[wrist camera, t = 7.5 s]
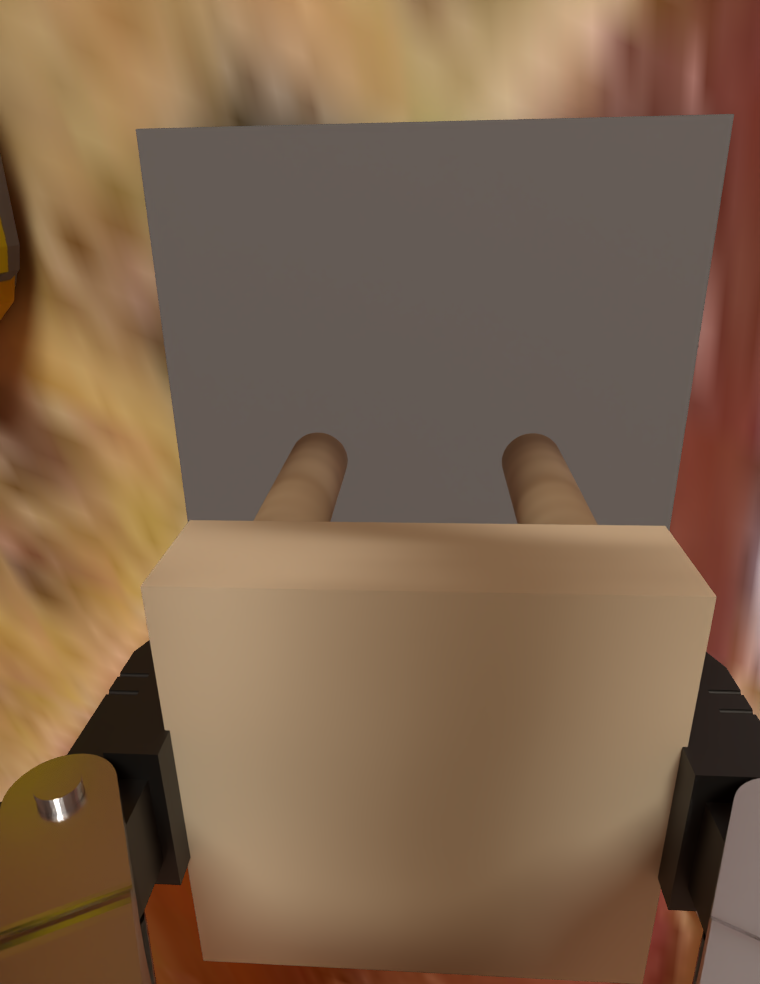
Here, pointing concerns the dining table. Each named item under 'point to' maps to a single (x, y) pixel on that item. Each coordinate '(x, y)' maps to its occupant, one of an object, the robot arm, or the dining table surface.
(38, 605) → the dining table surface
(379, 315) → the mat
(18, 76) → the dining table surface
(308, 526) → the stool
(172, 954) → the dining table surface
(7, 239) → the gaming controller
